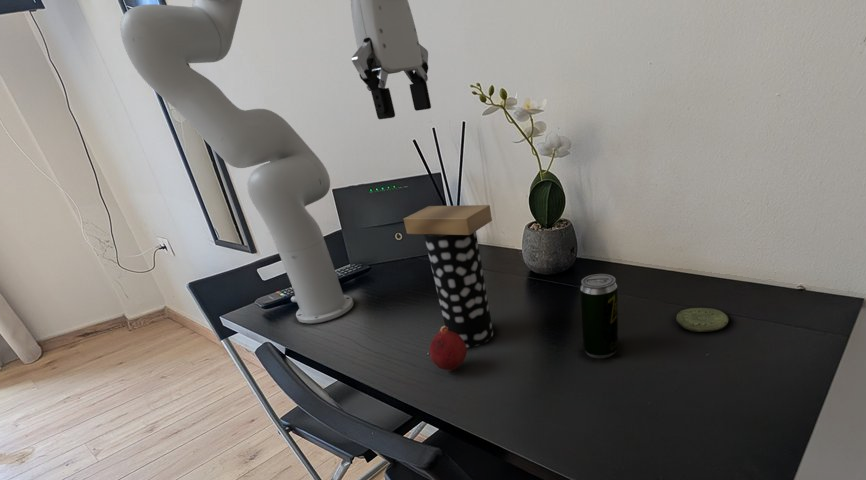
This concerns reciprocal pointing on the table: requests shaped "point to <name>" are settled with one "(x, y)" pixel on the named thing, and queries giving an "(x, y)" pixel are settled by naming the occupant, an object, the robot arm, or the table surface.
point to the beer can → (599, 315)
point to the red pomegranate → (447, 349)
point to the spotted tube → (460, 286)
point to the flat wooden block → (448, 220)
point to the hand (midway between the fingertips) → (405, 113)
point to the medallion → (702, 319)
